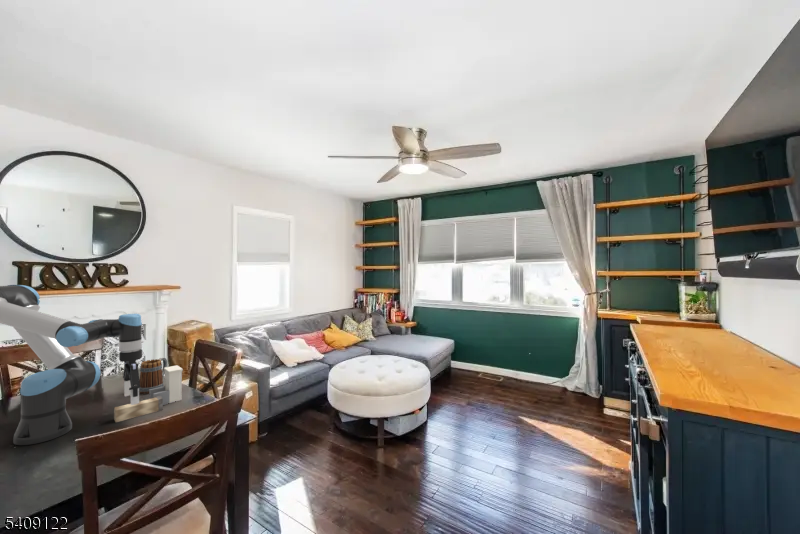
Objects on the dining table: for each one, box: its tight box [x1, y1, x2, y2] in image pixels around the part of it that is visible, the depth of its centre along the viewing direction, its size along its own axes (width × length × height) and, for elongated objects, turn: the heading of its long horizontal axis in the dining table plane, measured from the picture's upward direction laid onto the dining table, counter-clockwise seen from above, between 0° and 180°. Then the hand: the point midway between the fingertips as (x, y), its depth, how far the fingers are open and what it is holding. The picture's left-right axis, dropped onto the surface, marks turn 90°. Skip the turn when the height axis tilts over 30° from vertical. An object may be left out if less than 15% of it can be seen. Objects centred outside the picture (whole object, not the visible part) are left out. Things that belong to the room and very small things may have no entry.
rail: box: [113, 396, 164, 423], centre depth 143 cm, size 16×4×5 cm, turn 138°
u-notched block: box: [148, 365, 184, 406], centre depth 157 cm, size 11×9×15 cm
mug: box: [139, 357, 168, 395], centre depth 172 cm, size 16×11×15 cm
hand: (131, 399), depth 140 cm, fingers open, 13 cm apart
